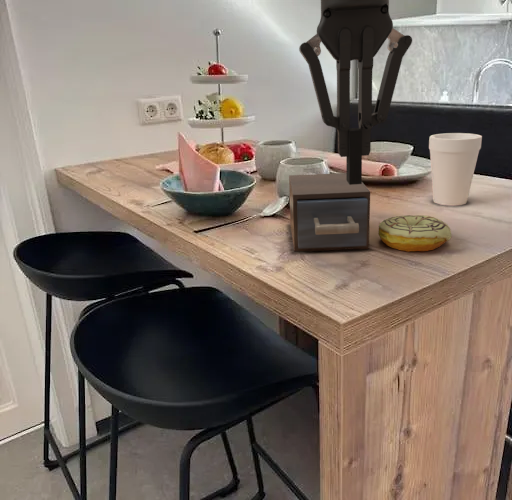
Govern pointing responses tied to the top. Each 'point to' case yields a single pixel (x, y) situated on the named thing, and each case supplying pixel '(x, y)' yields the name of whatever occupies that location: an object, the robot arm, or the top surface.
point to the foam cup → (453, 166)
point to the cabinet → (323, 189)
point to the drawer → (332, 222)
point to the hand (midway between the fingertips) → (353, 181)
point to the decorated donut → (414, 232)
